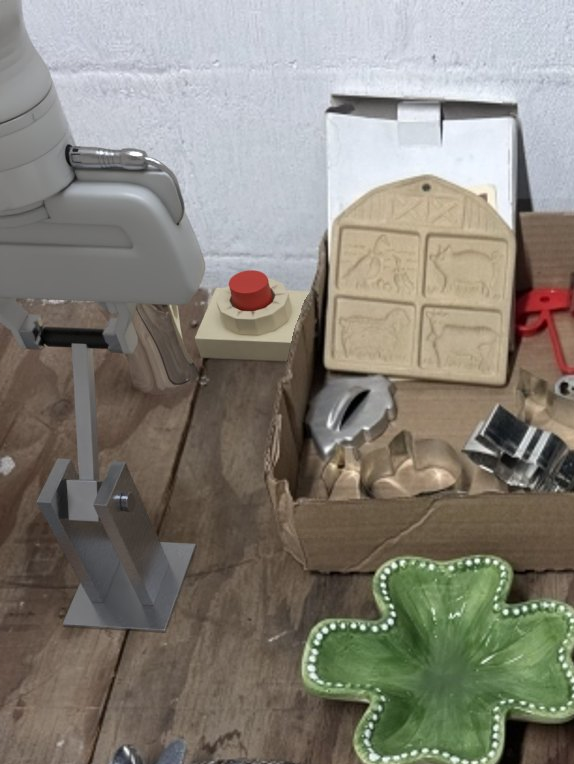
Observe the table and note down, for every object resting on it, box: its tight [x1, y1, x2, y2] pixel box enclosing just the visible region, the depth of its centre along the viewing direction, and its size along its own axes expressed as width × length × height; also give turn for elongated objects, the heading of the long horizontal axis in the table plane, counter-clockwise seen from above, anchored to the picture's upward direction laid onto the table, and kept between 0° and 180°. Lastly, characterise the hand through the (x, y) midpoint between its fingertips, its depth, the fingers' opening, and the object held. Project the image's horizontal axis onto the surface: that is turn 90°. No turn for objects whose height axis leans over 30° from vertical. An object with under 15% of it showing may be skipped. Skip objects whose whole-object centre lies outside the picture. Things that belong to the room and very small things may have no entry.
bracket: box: [36, 458, 197, 633], centre depth 80 cm, size 9×8×12 cm
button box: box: [194, 277, 310, 362], centre depth 102 cm, size 10×8×4 cm
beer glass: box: [93, 302, 200, 396], centre depth 93 cm, size 7×7×15 cm
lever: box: [42, 325, 109, 522], centre depth 75 cm, size 13×5×2 cm
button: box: [228, 269, 272, 311], centre depth 100 cm, size 4×4×2 cm
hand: (79, 346), depth 74 cm, fingers closed on lever, 5 cm apart
